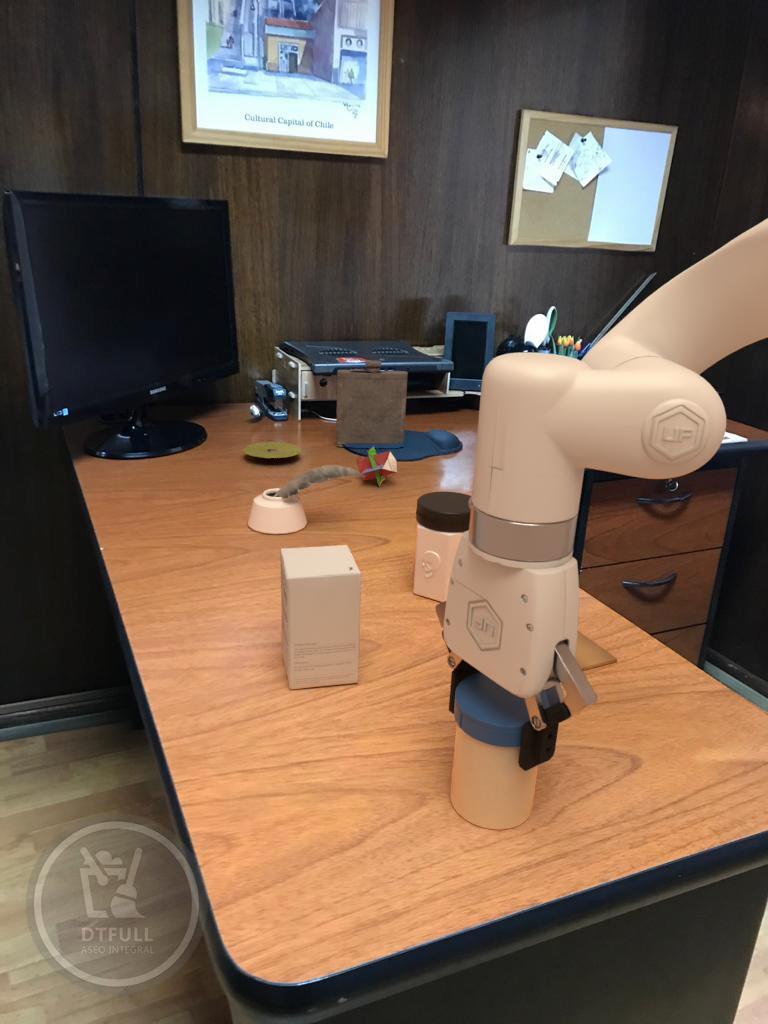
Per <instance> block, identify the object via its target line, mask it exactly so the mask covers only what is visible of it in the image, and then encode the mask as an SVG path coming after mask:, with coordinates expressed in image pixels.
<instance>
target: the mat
mask: <svg viewBox="0 0 768 1024" xmlns="http://www.w3.org/2000/svg"><path fill="white" fill-rule="evenodd" d="M242 451H243V452H244V454H246V455H248V456H251V457H256V458H257V457H258V458H263V459H271V458H274V459H275V458H276V459H277V458H278V459H281V458H289V457H290V458H291V457H293V456H296V455H299V454H301V453H302V448H301V447H300V446H298V445H296V444H294V443H290V442H283V441H263V442H254V443H251V444H248V445H246V446H245V447H243V449H242Z"/></svg>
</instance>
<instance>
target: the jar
mask: <svg viewBox="0 0 768 1024" xmlns="http://www.w3.org/2000/svg"><path fill="white" fill-rule="evenodd" d="M471 496H472V495H469V494H466V493H462V492H457V491H431V492H428V493H424V494H421V495H420V496H419V497H418V498H417V499H416V509H415V519H416V520H415V535H414V536H415V537H414V551H413V554H414V556H413V569H412V570H413V571H412V592H413V595H417V596H420V597H423V598H426V599H430V600H433V601H436V602H440V603H442V602H444V601H446V600H447V594H448V587H449V581H450V576H451V571H452V567H453V563H454V558H455V555H456V552H457V548H458V545H459V543H460V540H461V537H462V535H463V533H464V532H466V531H468V530H469V524H470V512H471V509H470V508H469V505H468V502H469V499H470V497H471Z"/></svg>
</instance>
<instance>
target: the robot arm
mask: <svg viewBox="0 0 768 1024" xmlns="http://www.w3.org/2000/svg"><path fill="white" fill-rule="evenodd" d="M767 338H768V217H767V218H766V219H764V220H763V221H761V222H759V223H758V224H756V225H754V226H753V227H751V228H749V229H748V230H745V231H744V232H742V233H740V234H739V235H738V236H736V237H734V238H733V239H731V240H730V241H728V242H727V243H725V244H724V245H722V246H721V247H720V248H718V249H717V250H714V251H713V252H712V253H710V254H709V255H707V256H706V257H704V258H703V259H701V260H700V261H698V262H696V263H694V264H693V265H691V266H690V267H688V268H687V269H684V270H683V271H682V272H680V273H679V274H677V275H675V276H674V277H673V278H672V279H670V280H668V282H666V283H664V284H663V285H661V286H660V287H659V288H658V289H657V290H654V291H653V293H651V294H650V295H649V296H647V297H646V298H645V299H644V300H643V301H642V302H640V303H639V304H638V305H637V306H636V307H634V308H633V310H631V311H630V312H629V313H628V314H626V316H624V317H623V318H622V319H621V320H620V321H619V322H618V323H616V324H615V326H614V327H612V328H611V329H610V330H609V331H608V332H607V333H606V334H605V335H604V336H602V337H601V338H600V339H599V341H597V342H596V343H595V344H594V345H593V346H592V347H591V348H590V349H589V350H588V351H587V353H585V355H584V356H583V358H582V359H581V360H580V359H578V358H576V357H571V356H567V355H561V354H554V353H548V352H547V353H546V352H508V353H504V354H501V355H498V356H495V357H494V358H493V359H491V360H490V361H489V362H488V364H487V365H486V366H485V368H484V370H483V371H484V372H483V374H482V380H481V387H480V399H479V409H478V410H479V411H478V422H477V433H476V446H475V456H474V457H475V458H474V467H473V480H472V491H471V495H470V496H471V497H470V499H469V502H468V505H469V508H470V509H471V512H470V524H469V530H468V531H466V532H464V533H463V535H462V537H461V540H460V543H459V545H458V548H457V552H456V555H455V558H454V563H453V567H452V571H451V576H450V581H449V587H448V594H447V600H446V601H444V602H440V603H437V604H436V605H435V612H436V615H437V619H438V621H439V625H440V627H441V629H442V628H443V629H442V631H441V636H442V639H443V641H444V645H445V647H446V649H447V651H448V653H449V654H448V655H447V657H446V662H447V664H448V667H449V668H450V669H452V670H451V677H450V688H449V689H450V690H449V700H448V701H449V702H448V711H449V712H450V713H451V714H452V715H454V704H455V692H456V688H457V686H458V684H459V683H460V682H461V681H462V680H463V679H464V678H466V677H468V676H470V675H473V674H475V673H479V672H481V673H483V674H484V675H486V676H487V677H489V678H490V679H491V680H493V681H494V682H496V683H497V684H499V685H500V686H502V687H503V688H504V689H506V690H507V691H509V692H511V693H512V694H514V695H516V696H518V697H521V698H524V700H525V703H526V707H527V711H528V714H529V718H530V721H528V722H526V723H524V725H523V729H522V737H521V745H520V753H519V761H518V763H519V767H521V768H522V769H523V770H524V771H527V770H529V769H531V768H533V767H535V766H537V765H538V766H540V765H542V764H544V763H547V762H549V761H551V759H553V757H554V755H555V753H556V746H557V740H558V739H557V738H558V732H559V724H560V723H563V722H565V721H567V720H569V719H572V718H573V717H576V716H578V715H580V714H581V713H582V712H584V711H586V710H587V709H589V708H590V707H591V706H593V705H595V704H596V703H597V702H598V695H597V693H596V692H595V690H594V688H593V687H592V684H591V683H590V681H589V680H588V678H587V677H586V674H585V673H584V670H583V671H582V670H581V668H580V666H579V665H578V663H577V661H576V660H575V653H576V645H577V635H578V631H579V618H580V581H579V579H580V578H579V568H578V560H577V559H576V558H575V557H574V556H573V554H574V545H575V537H576V532H577V531H576V530H577V523H578V518H579V517H578V516H579V511H580V503H581V497H582V496H581V495H582V490H583V489H582V488H583V483H584V482H583V481H584V474H585V469H591V470H596V471H603V472H607V473H614V474H618V475H624V476H628V477H633V478H634V477H636V478H640V479H646V480H647V479H648V480H665V479H667V480H668V479H673V478H678V477H682V476H685V475H688V474H690V473H693V472H695V471H696V470H699V469H700V468H701V467H703V466H704V465H706V464H707V463H708V462H709V461H710V460H712V458H713V457H714V456H715V455H716V453H717V452H718V450H719V448H720V447H721V445H722V443H723V441H724V439H725V436H726V435H725V434H726V429H727V413H726V409H725V406H724V403H723V400H722V399H721V396H720V395H719V393H718V392H717V391H716V389H715V388H714V387H713V386H712V384H711V383H710V382H709V381H707V379H705V378H704V377H703V376H701V374H702V373H704V372H705V371H706V370H707V369H708V368H709V369H710V367H712V366H713V365H715V364H716V363H718V362H719V361H720V360H723V359H724V358H726V357H727V356H729V355H731V354H733V353H734V352H737V351H739V350H740V349H743V348H745V347H746V346H749V345H752V344H754V343H756V342H758V341H761V340H764V339H767ZM562 687H563V688H562ZM563 689H564V691H565V692H566V694H565V695H566V696H565V695H564V692H563ZM545 690H546V693H547V697H548V701H549V704H550V707H548V708H546V709H544V708H543V705H542V701H541V697H540V694H539V693H540V692H542V691H545Z"/></svg>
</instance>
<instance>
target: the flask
mask: <svg viewBox="0 0 768 1024" xmlns="http://www.w3.org/2000/svg"><path fill="white" fill-rule="evenodd" d="M364 364H365V366H366V367H365V368H351V369H338V370H337V375H336V377H337V378H336V420H335V421H336V425H335V426H336V427H335V445H336V444H337V445H342V444H345V443H397V442H403V441H404V442H405V429H406V428H405V427H406V412H407V411H406V409H407V391H408V389H407V388H408V373H409V372H408V371H404V370H381V367H382V361H381V360H371V359H369V360H365V363H364Z"/></svg>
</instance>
